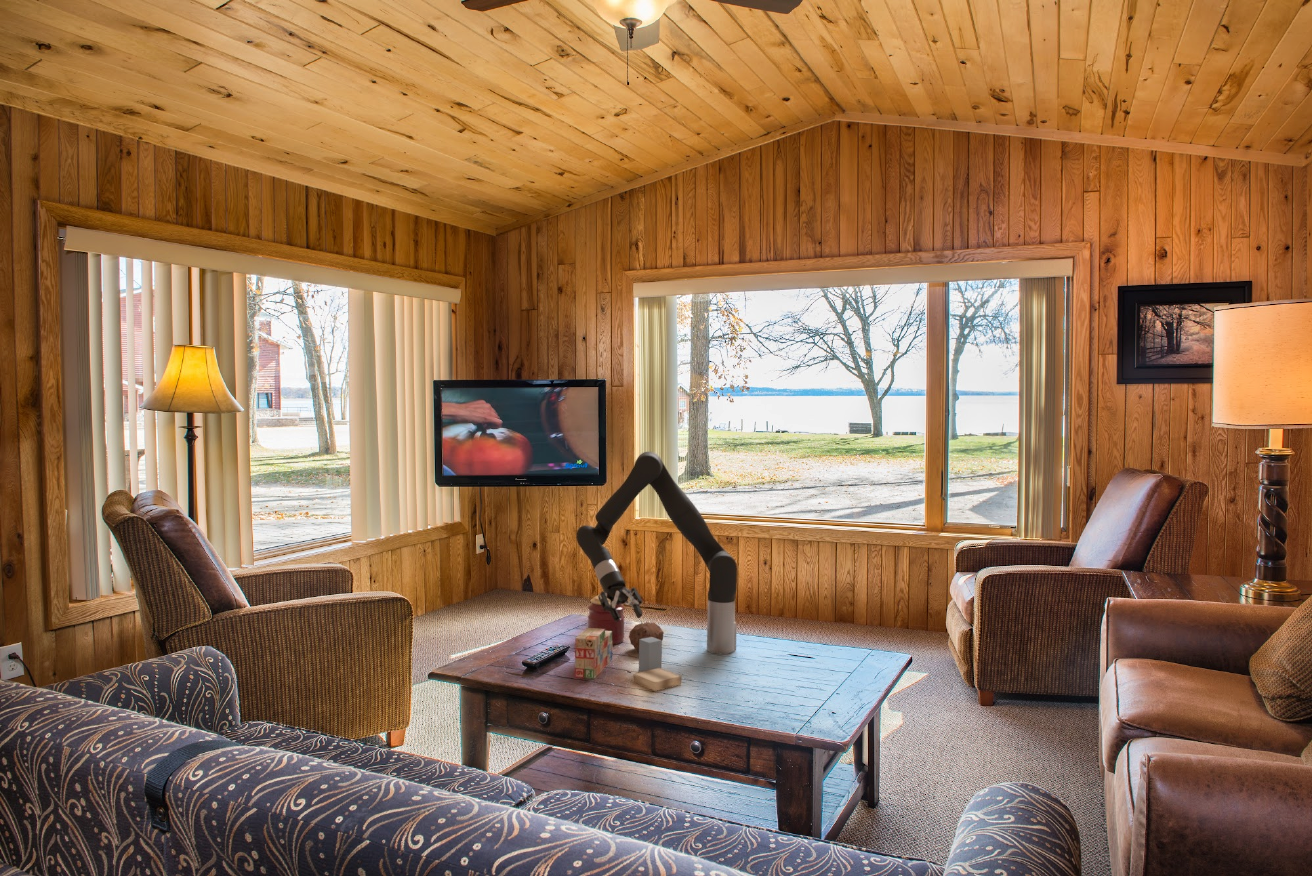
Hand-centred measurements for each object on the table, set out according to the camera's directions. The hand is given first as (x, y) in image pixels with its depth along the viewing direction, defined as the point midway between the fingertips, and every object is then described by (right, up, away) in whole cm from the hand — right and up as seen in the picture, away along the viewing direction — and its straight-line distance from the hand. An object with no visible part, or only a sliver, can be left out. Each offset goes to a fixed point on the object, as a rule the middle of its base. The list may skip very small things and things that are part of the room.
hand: (629, 618), depth 266 cm
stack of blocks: (-11, -15, -5) cm, 19 cm away
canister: (-9, -14, +26) cm, 31 cm away
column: (+7, -15, -8) cm, 18 cm away
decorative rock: (+5, -14, +15) cm, 21 cm away
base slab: (+9, -16, -19) cm, 26 cm away
